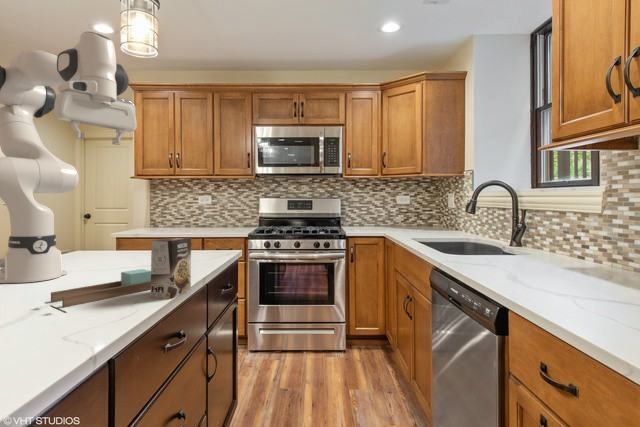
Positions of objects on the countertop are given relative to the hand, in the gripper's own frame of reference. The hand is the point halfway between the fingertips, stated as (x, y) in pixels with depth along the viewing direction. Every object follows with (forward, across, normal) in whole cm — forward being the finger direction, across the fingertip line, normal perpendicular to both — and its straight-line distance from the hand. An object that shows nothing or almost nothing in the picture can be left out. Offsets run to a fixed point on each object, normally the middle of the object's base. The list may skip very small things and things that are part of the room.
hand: (98, 142), depth 99 cm
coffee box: (+43, -9, +21) cm, 49 cm away
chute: (+43, +2, +9) cm, 44 cm away
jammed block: (+41, -6, +9) cm, 43 cm away
